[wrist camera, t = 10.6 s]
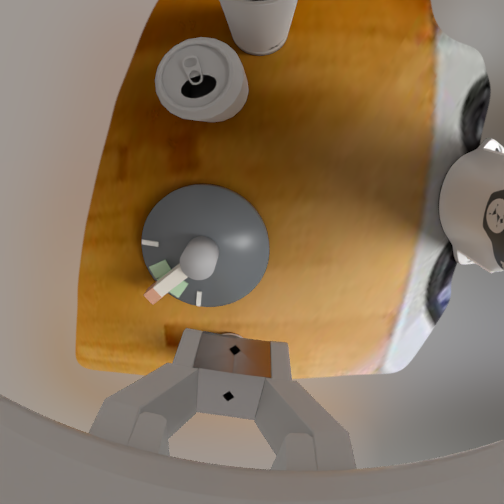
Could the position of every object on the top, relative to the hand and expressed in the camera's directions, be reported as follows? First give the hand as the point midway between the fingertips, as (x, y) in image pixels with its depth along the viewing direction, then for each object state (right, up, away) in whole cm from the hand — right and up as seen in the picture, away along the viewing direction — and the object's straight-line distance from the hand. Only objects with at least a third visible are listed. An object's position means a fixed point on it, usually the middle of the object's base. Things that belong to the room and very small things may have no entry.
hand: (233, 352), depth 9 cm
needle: (-8, +1, +30) cm, 31 cm away
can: (-4, +21, +23) cm, 32 cm away
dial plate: (-5, +4, +30) cm, 31 cm away
